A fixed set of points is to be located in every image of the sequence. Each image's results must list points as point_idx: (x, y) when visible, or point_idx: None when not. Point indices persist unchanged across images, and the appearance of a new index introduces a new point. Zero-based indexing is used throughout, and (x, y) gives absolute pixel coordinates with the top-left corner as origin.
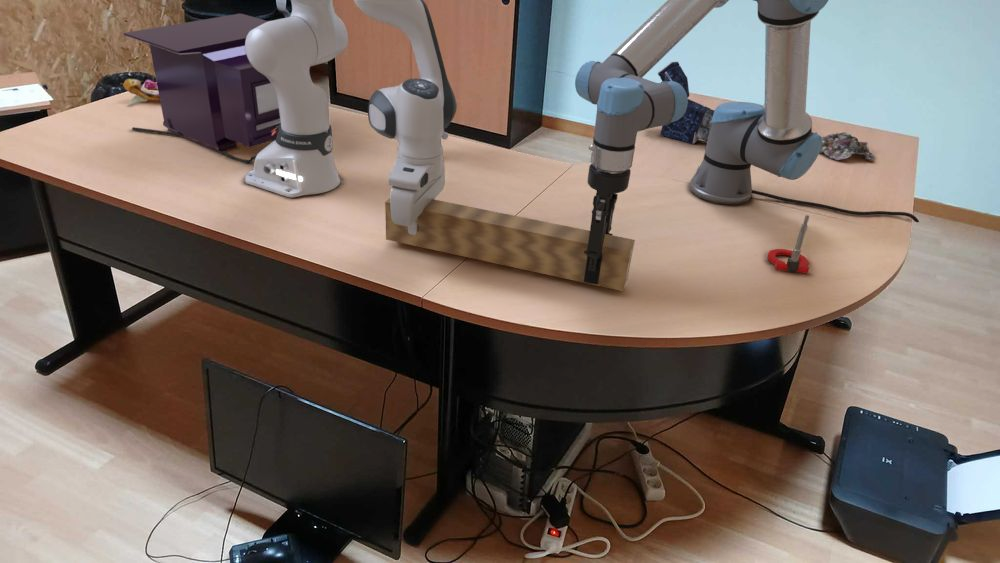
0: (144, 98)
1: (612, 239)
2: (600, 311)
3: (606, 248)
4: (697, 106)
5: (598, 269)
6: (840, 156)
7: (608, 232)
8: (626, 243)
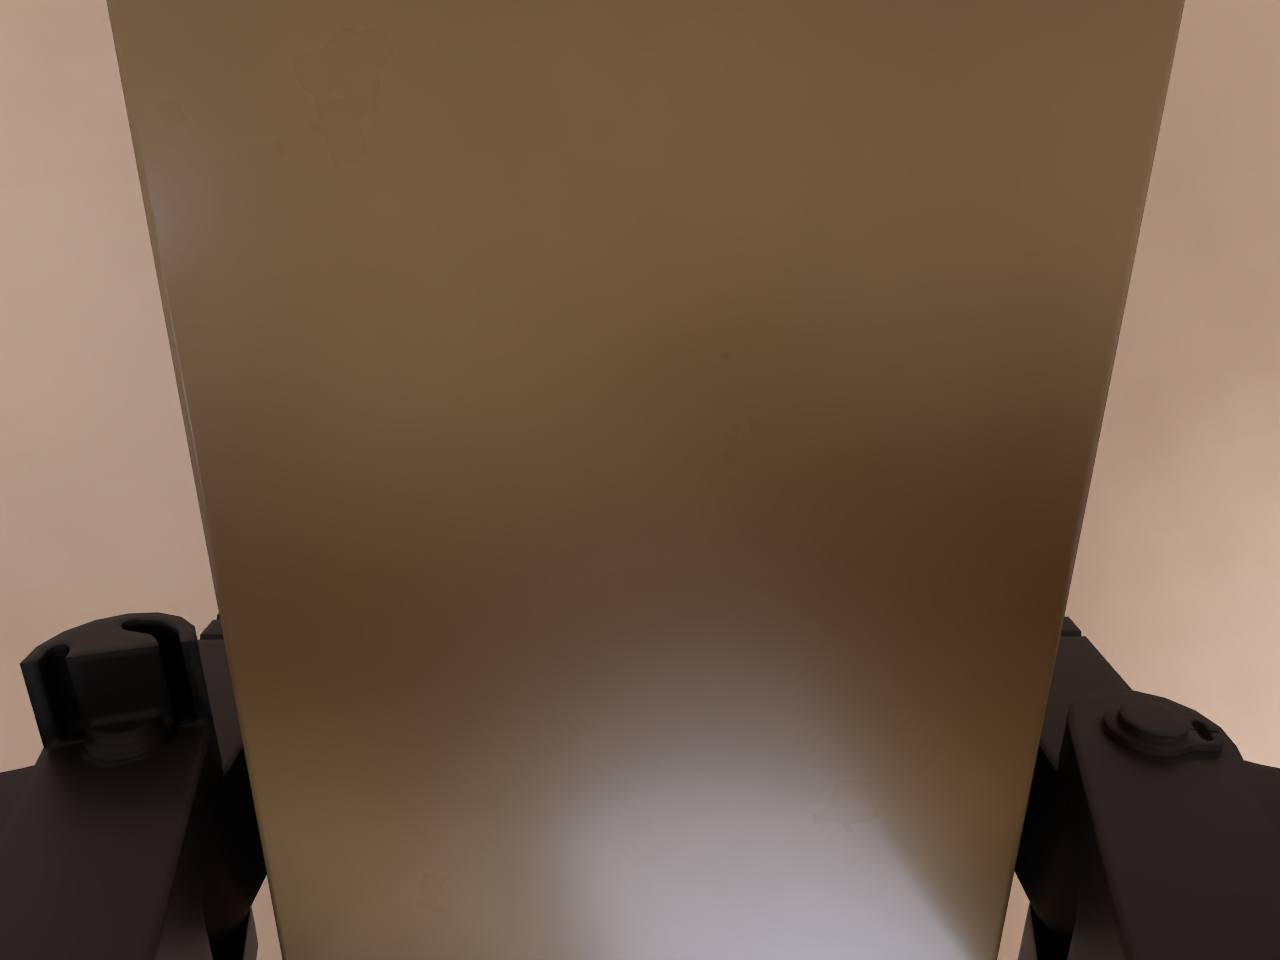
0: None
1: (494, 662)
2: (1193, 274)
3: (1037, 706)
4: None
5: None
6: None
7: (173, 829)
8: (551, 212)
